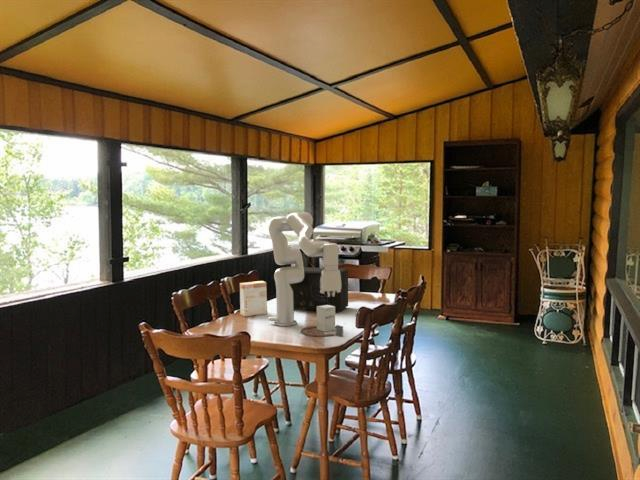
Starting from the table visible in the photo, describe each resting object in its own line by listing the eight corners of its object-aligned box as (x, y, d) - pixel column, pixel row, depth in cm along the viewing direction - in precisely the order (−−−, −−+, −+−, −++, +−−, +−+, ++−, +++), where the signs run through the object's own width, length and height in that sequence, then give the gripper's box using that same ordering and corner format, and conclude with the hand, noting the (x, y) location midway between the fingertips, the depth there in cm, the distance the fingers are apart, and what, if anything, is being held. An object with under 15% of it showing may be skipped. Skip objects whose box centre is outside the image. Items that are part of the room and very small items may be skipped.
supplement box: (324, 332, 283) (324, 308, 282) (316, 329, 288) (316, 306, 288) (335, 329, 287) (335, 306, 286) (327, 327, 293) (327, 304, 292)
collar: (326, 340, 266) (326, 330, 265) (292, 331, 285) (292, 321, 284) (357, 332, 281) (356, 322, 280) (322, 324, 300) (322, 315, 299)
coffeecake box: (263, 311, 335) (262, 280, 334) (267, 313, 329) (266, 282, 327) (240, 314, 328) (239, 282, 327) (244, 316, 322) (243, 284, 320)
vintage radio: (282, 310, 339) (281, 270, 337) (294, 304, 357) (293, 266, 355) (339, 314, 326) (339, 272, 324) (348, 307, 344) (348, 268, 342)
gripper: (318, 269, 263) (318, 306, 265) (347, 268, 267) (347, 304, 269) (313, 267, 270) (313, 303, 272) (342, 266, 275) (341, 301, 276)
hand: (330, 304), depth 271 cm, fingers closed
